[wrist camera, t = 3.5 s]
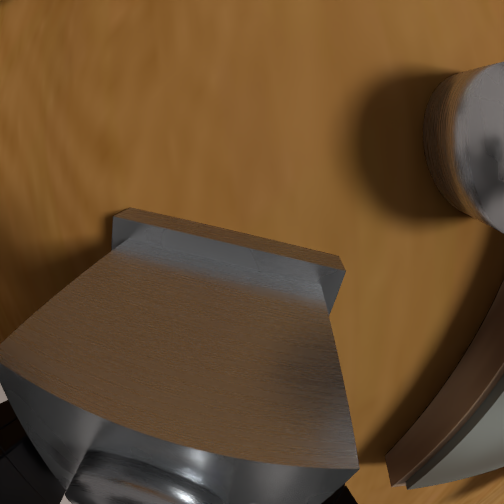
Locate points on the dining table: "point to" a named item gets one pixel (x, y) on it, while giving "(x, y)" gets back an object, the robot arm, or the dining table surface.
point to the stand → (459, 417)
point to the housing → (187, 371)
